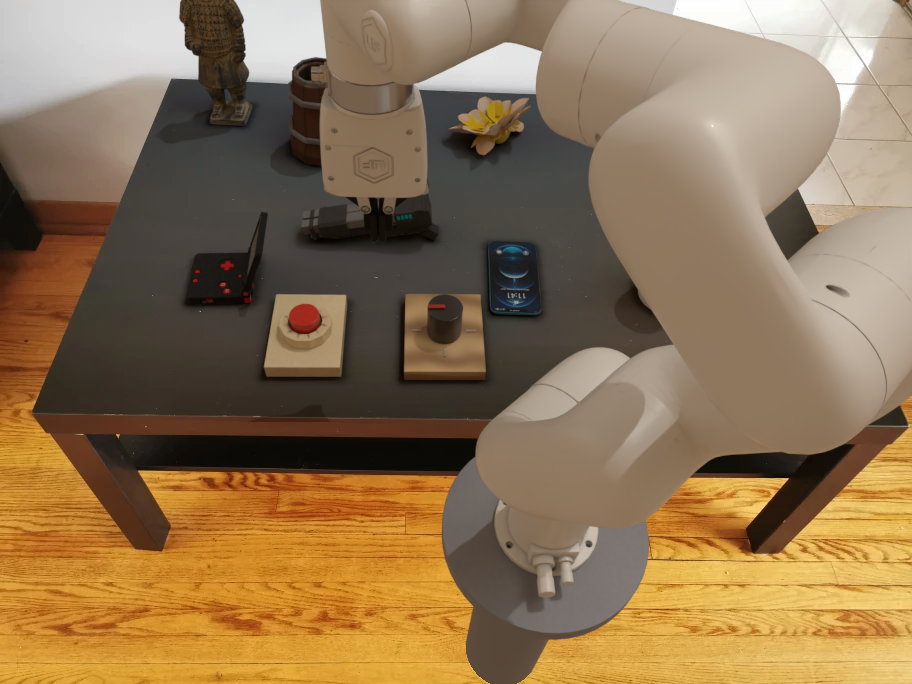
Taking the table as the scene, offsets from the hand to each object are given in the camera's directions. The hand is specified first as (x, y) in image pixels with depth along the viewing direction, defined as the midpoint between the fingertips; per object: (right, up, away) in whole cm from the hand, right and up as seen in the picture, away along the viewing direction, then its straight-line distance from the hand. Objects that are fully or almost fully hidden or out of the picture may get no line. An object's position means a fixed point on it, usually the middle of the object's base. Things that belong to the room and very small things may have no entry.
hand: (379, 233), depth 77 cm
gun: (-5, +5, +36) cm, 37 cm away
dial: (+7, -10, +22) cm, 25 cm away
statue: (-33, +30, +54) cm, 70 cm away
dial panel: (+7, -12, +23) cm, 27 cm away
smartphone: (+17, -2, +31) cm, 36 cm away
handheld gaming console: (-25, -3, +28) cm, 38 cm away
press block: (-12, -12, +22) cm, 28 cm away
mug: (-15, +25, +51) cm, 58 cm away
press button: (-12, -9, +19) cm, 25 cm away
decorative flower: (+15, +26, +54) cm, 61 cm away
